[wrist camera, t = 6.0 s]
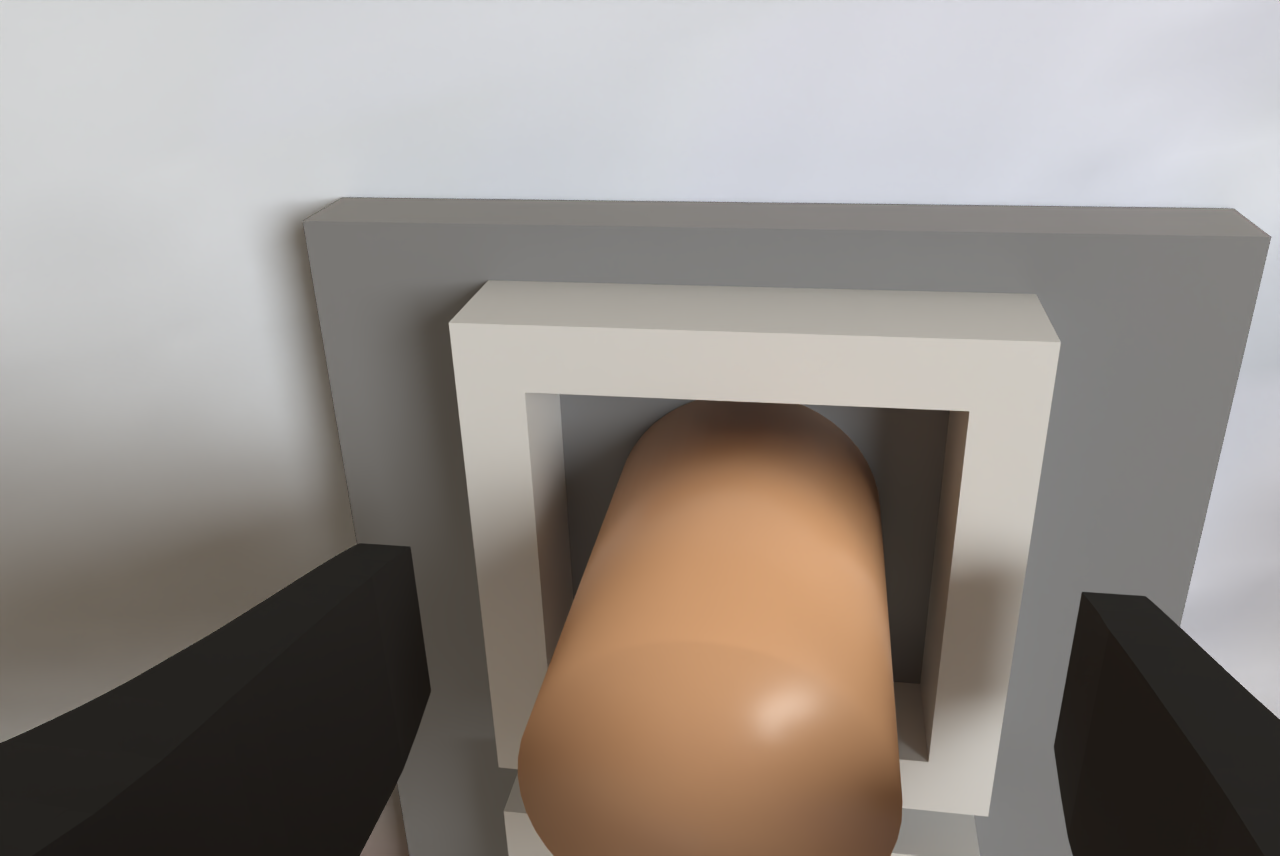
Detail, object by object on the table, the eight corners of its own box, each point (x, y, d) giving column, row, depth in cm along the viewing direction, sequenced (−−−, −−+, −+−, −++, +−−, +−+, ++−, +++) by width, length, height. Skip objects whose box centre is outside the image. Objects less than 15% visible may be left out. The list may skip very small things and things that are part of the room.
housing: (1052, 1045, 19) (1084, 1210, 17) (457, 967, 21) (408, 1105, 18) (1234, 208, 12) (1328, 279, 10) (343, 197, 14) (241, 256, 12)
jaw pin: (868, 631, 14) (883, 955, 10) (619, 608, 15) (527, 907, 10) (892, 401, 13) (922, 662, 8) (615, 384, 13) (506, 622, 9)
